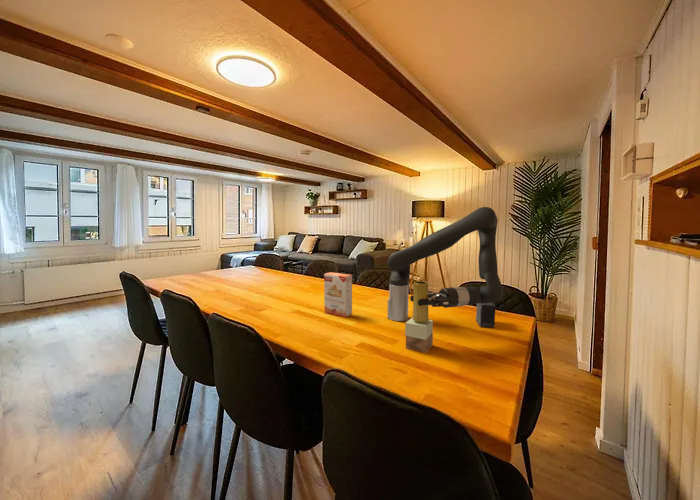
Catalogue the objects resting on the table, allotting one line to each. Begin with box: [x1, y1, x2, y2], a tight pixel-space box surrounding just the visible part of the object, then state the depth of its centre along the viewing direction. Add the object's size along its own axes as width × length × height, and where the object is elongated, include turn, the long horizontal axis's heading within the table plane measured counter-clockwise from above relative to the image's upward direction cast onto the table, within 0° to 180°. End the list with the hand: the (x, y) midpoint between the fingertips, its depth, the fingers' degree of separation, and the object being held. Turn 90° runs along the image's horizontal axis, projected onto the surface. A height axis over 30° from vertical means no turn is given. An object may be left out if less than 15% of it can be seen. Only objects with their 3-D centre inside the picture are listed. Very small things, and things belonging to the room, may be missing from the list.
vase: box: [411, 280, 430, 322], centre depth 115 cm, size 6×6×14 cm
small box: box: [475, 302, 497, 329], centre depth 142 cm, size 11×6×10 cm, turn 168°
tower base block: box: [405, 332, 434, 353], centre depth 116 cm, size 8×8×5 cm
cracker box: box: [323, 271, 353, 318], centre depth 157 cm, size 14×6×21 cm, turn 55°
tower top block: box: [404, 317, 434, 340], centre depth 116 cm, size 8×8×5 cm
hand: (414, 300), depth 114 cm, fingers closed on vase, 5 cm apart
